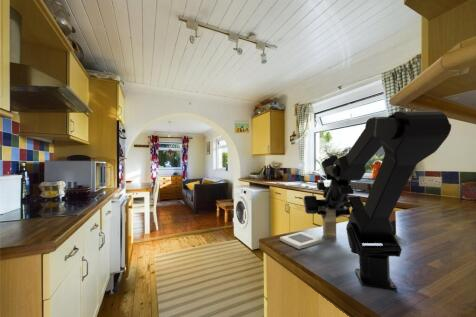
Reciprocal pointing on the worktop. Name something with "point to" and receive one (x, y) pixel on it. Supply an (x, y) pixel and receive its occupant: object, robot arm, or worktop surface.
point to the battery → (393, 221)
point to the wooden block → (329, 224)
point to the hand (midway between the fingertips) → (328, 217)
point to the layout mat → (301, 240)
